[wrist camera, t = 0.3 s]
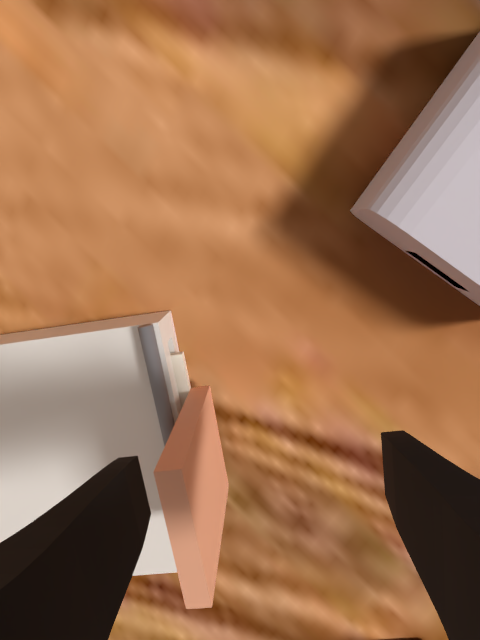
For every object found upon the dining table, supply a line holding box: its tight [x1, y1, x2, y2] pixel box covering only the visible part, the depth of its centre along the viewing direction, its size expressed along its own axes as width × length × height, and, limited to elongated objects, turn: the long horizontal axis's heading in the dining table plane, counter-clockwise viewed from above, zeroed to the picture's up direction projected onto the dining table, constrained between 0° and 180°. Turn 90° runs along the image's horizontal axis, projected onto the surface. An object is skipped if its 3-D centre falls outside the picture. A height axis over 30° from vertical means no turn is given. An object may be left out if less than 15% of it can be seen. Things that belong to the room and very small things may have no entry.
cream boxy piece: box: [153, 352, 229, 609], centre depth 18 cm, size 12×10×7 cm
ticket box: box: [0, 310, 182, 576], centre depth 21 cm, size 12×14×3 cm
